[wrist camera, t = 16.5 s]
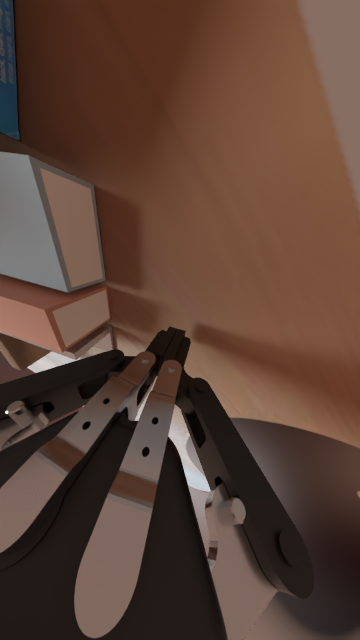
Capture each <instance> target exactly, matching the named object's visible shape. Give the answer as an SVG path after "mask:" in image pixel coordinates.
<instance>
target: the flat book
mask: <svg viewBox="0 0 360 640" xmlns="http://www.w3.org/2000/svg"><path fill="white" fill-rule="evenodd" d="M0 274H4V275H7V276H11V277H14V278H18V279H21V280H25V281H29V282H32V283H36V284H39V285H43V286H46V287H50V288H53V289H57V290H60V291H64V292H67V293H68V292H71V291H74V290H77V289H80V288H84V287H87V286H90V285H93V284H96V283H99V282H102V281H105V280H106V278H105V270H104V262H103V254H102V246H101V238H100V231H99V223H98V215H97V207H96V199H95V191H94V185H93V184H90V183H88V182H86V181H84V180H82V179H79V178H77V177H75V176H73V175H71V174H68V173H66V172H64V171H62V170H60V169H57V168H55V167H53V166H51V165H49V164H47V163H44V162H42V161H40V160H38V159H36V158H33V157H31V156H29V155H23V154H16V153H8V152H0Z"/></svg>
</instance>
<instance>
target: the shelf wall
mask: <svg viewBox="0 0 360 640" xmlns="http://www.w3.org/2000/svg"><path fill="white" fill-rule="evenodd" d="M0 351H1V352H2V353H3V355H4V356H5V358H6V359H7V360H8V362H9V363H10V364H11V366H12V367H14V368H16V369H19V370H23V369H25V368H26V367H28V366H30V365H31V364H33V363H34V362H36V361H37V360H39V359H40V358H42V357H44V356H45V355H47V354H48V353H50V352H51V351H50V350H47V349H44V348H42V347H39V346H36V345H33V344H30V343H28V342H25V341H22V340H19V339H16V338H14V337H11V336H8V335H5V334H3V333H0Z"/></svg>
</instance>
